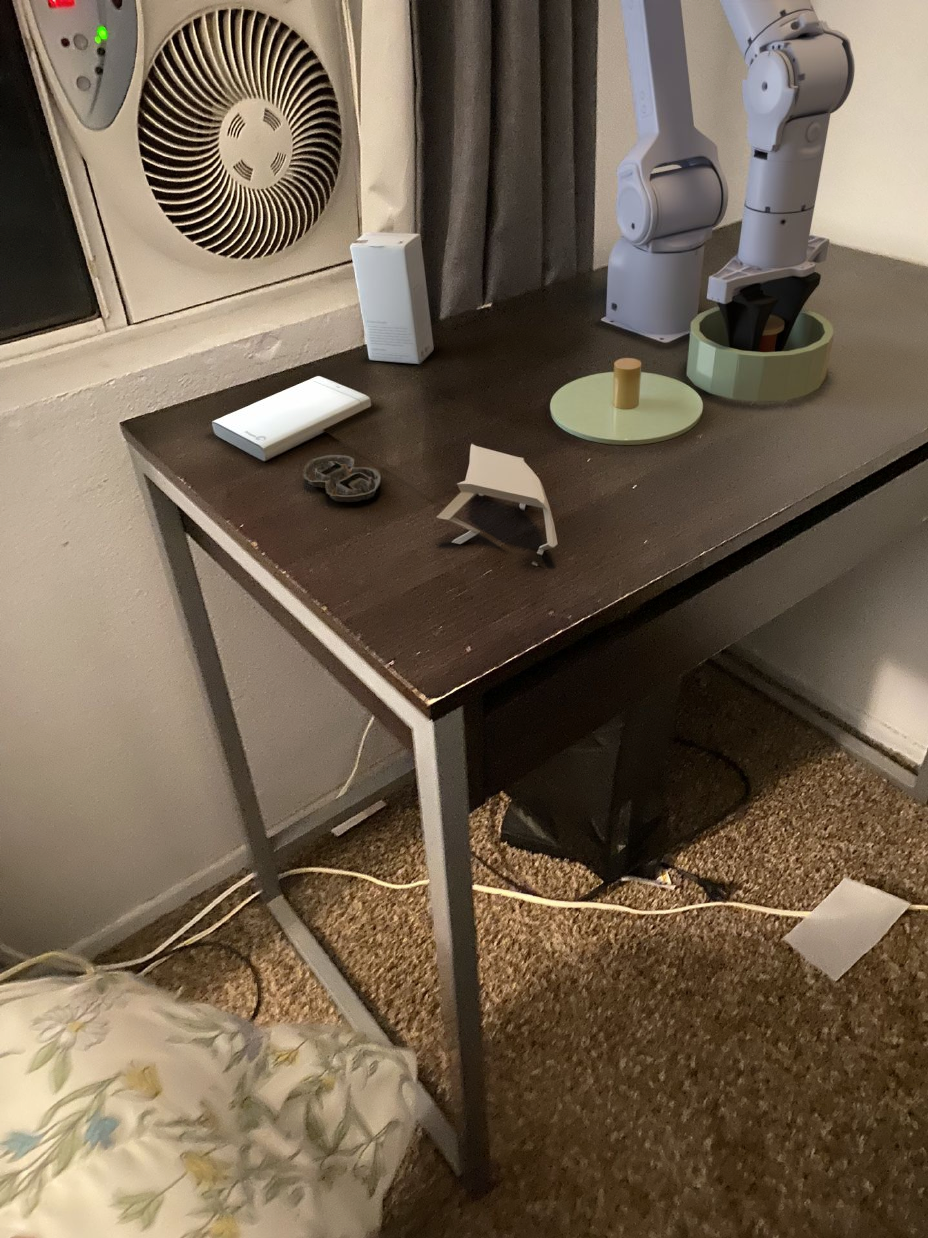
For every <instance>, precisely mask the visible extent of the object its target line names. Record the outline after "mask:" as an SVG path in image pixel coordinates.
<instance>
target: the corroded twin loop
mask: <svg viewBox="0 0 928 1238" xmlns="http://www.w3.org/2000/svg"><path fill="white" fill-rule="evenodd" d="M333 469H334V470H333ZM301 473H302V478H303V479H305V480H307V481H308V484H309V485H311V487H313V488H321V489H325V491H326V494H328V495H329V497H330V499H332V500H333V501H335V502H337V503H339V502H340V503H341V502H342V503H355V502H362V501H363V500H364V501H365V500H370V499H371V498H373V497H374V496H375V493H376V490H377V489H378V488H379V486H380V483H381V476H382V474H381V473H380V472H379V470H378V469H377V468H376V467H372V466H356V467H355V458H354V457H351V456H350V455H346V454H344V455H342V454H327V455H323V456H318V457H314V458H312V459H309V460H308V461H307V462H306V464H305V465H304V467H302V472H301ZM347 484H348V486H349V487H350V488H349V487H347V486H346V485H347Z"/></svg>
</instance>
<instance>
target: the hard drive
mask: <svg viewBox="0 0 928 1238" xmlns="http://www.w3.org/2000/svg"><path fill="white" fill-rule="evenodd" d="M370 407H372V401H371V398H370V396H368V395H366V394H364V393H362V392H360V391H357V390H355V389H353V388H350V387H347V386H345V385H344V384H340V383H338V382H336V381H333V380H331V379H328V378H326V377H323V376H320V375H317V376H314V377H312V378H310V379H308V380H305V381H302V382H301V383H299V384H296V385H294V386H291V387H289V388H286V389H285V390H282V391H280V392H277V393H275V394H273V395H270V396H268V397H266V398H263V399H261V400H258V401H256V402H254V403H252V404H250V405H248V406H245V407H243V408H240V409H238V410H236V411H233V412H230V413H228V414H226V415H224V416H222V417H220V418H217V419H215V420H212V422H211V425H212V426H211V427H212V429H213V433H214V435H215V436H217V437H218V438H220V439H222V440H223V441H226V442H227V443H229V444H231V445H233V446H235V447H237V448H238V449H240V450H242V451H244V452H246V453H247V454H249V455H251V456H253V457H254V458H257V459H259V460H260V461H263V462H266V461H268V460H270V459H273V458H275V457H277V456H279V455H281V454H283V453H285V452H287V451H289V450H291V449H293V448H295V447H298V446H299V445H301V444H303V443H306V442H308V441H310V440H312V439H314V438H316V437H317V436H320V435H322V434H324V433H325V432H326V430H325V429H327V428H330V427H331V426H334V425H335V424H337V423H339V422H342V421H343V420H346V419H347V418H350V417H352V416H353V415H356V414H358V413H360V412H362V411H364V410H366V409H369V408H370Z"/></svg>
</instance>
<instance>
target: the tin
mask: <svg viewBox="0 0 928 1238" xmlns="http://www.w3.org/2000/svg"><path fill="white" fill-rule="evenodd" d="M834 337H835V330H834V327H833V324H832V322H831V321H829V320H828V319H827V318H825V317H824V316H823V315H821V314H819V313H817V312H814V311H811V310H809V309H806V308H804V307H803V308H802V309H801V311H800V313H799V315H798V317H797V319H796V321H795V323H794V326H793V328H792V330H791V333H790V335H789V337H788V340H787V342H786V344H785V346H784V348H783V350H782V351H781V352H753V351H742V350H738V349H733V348H729V341H728V335H727V329H726V325H725V322H724V319H723V316H722V313H721V311H720V308H719V306H718V305H717V306H714V307H711V308H709V309H707V310H705V311H703V312H699V313H698V315H697V317H696V318H695V319H694V320H693V321H692V322H691V325H690V333H689V338H688V347H687V355H686V357H687V358H686V377H687V378H688V379H689V380H690V381H691V383H692V384H693V385H694V386H695V387H697V388H700V389H701V390H702V391H704V392H707V393H708V394H711V395H715V396H718V397H722V398H726V399H729V400H732V401H733V400H734V401H744V402H753V403H765V402H767V403H768V402H784V401H789V400H792V399H797V398H801V397H805V396H807V395H809V394H810V393H813V392H814V391H816V390H818V389H819V388H820V387H821V386H822V384H823V383H824V381H825V380H826V377H827V371H828V366H829V363H830V361H829V360H830V356H831V352H832V347H833V342H834Z"/></svg>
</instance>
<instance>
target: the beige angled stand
mask: <svg viewBox="0 0 928 1238" xmlns="http://www.w3.org/2000/svg"><path fill="white" fill-rule="evenodd" d="M456 485H457V487H458V489H459V491H460V492H459V493H458V494H457V495H456V496H455V497H454V498H453V500H451V502H449V503H448V504H447V505H446V506H445V508H444V509H442V510H441V511H440V512H439V514H438V515H436V517H435V518H436V519H439V520H441V521H444V522H446V523H450V524H451V525H454V526H456V527H459V528H462V529H464V530H467V532H466V533H464V534H462V535H460V536H458V537H456V538H455V539H453V540H451V543H453V544H457V545H461V544H464V543H465V542H467V541H468V540H471V539H472V538H473V537H476V536H477V535H478V534H479V533H480V532H481V530H479V529H478V528H476V527H474V526H472V525H470V524H468V523H467V522H465V521H463V520H461V519H459V518H457V517H455V516H456V515H458V513H459V512H461V510H462V509H463V508H464V507H466V505H467V504H468V503H469V502H470V501H471V500H473V499H474V498H475V496H477V495H478V496H479V497H484V496H488V497H491V498H496V499H500V500H503V501H509V502H513V503H514V502H515V503H516V504H517V503H518V504H519V509H520V510H522V511H526V510H525V509H526V505H527V506H532V507H536V508H540V509H542V510H543V519H544V526H545V535H546V543H545V544H542V545H540V546H539V547H538V550H537V552H536V554H538V555H541V556H543V554H544V553H545V551H546V550H547V551H548V550H550V549H553V548H555V547H557V545H558V538H557V533H556V526H555V522H554V519H553V515H552V510H551V508H550V507H551V506H550V504H549V501H548V497H547V495H546V492H545V488H544V486H543V484H542V482H541V480H540V478H539V477H538V476H537V474H536V473H535V472H534V471H533V469H532V468H531V467H529V465H528V464H527V463H526V462H525V458H524V457H521V456H520V457H519V456H515V455H511V454H507V453H504V452H500V451H496V450H493V449H490V448H485V447H481V446H477V445H475V444H474V443H471V444H470V449H469V463H468V468H467V471H466V476H465V479H464V480H463V481H460V482H457V483H456ZM531 564H532V565H534V566H536V567H537V566H539V563H538V562H536V561H534V560H532V562H531Z"/></svg>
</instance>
